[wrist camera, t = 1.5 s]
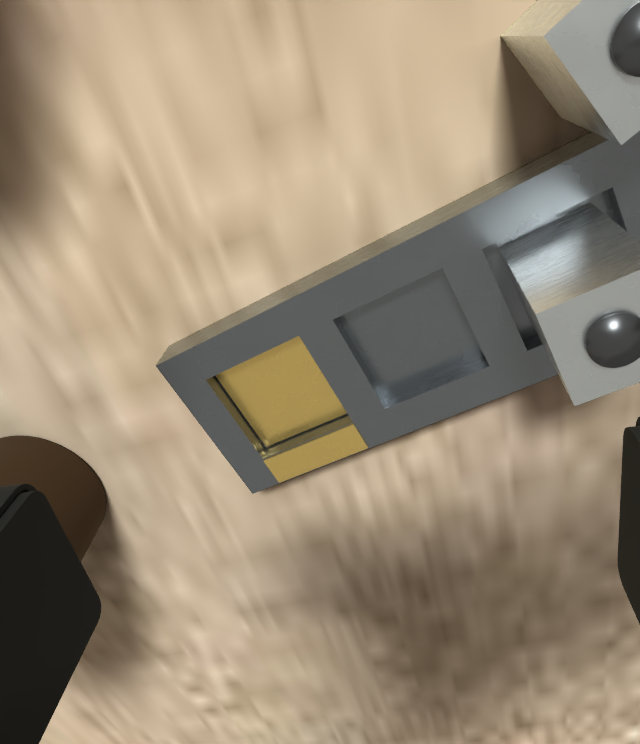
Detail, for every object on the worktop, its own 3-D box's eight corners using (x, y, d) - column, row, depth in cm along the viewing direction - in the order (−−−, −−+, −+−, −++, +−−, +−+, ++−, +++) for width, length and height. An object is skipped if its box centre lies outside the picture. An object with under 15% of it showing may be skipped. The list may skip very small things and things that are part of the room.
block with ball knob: (593, -54, 24) (683, -92, 17) (652, 37, 25) (759, 39, 18) (500, 36, 26) (545, 36, 19) (560, 116, 27) (624, 146, 20)
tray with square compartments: (627, 113, 27) (648, 120, 25) (683, 298, 31) (705, 318, 29) (169, 345, 35) (155, 366, 33) (259, 469, 39) (252, 494, 37)
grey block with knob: (592, 203, 28) (666, 262, 20) (620, 285, 29) (697, 366, 22) (498, 247, 29) (537, 317, 22) (531, 322, 31) (576, 410, 24)
